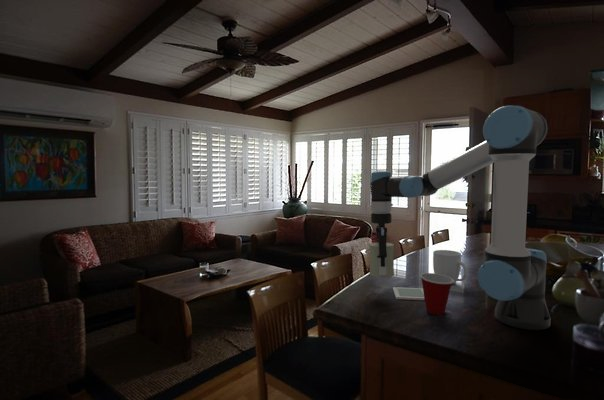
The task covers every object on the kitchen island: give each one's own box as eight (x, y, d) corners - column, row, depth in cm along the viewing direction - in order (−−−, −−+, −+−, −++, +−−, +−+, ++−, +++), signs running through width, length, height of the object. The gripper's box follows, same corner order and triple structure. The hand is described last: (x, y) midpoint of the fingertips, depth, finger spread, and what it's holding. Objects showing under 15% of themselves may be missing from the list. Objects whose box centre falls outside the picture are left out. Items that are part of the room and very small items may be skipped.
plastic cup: (455, 319, 117) (456, 282, 116) (419, 316, 120) (420, 279, 119) (451, 307, 128) (452, 273, 127) (419, 304, 131) (419, 271, 130)
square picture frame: (429, 300, 135) (429, 298, 135) (396, 299, 137) (396, 296, 136) (423, 290, 147) (423, 288, 147) (392, 289, 148) (392, 286, 148)
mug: (474, 286, 152) (475, 254, 151) (458, 290, 146) (459, 258, 145) (443, 277, 164) (443, 248, 163) (427, 281, 158) (427, 251, 157)
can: (388, 270, 146) (388, 240, 145) (398, 276, 136) (398, 244, 136) (366, 272, 144) (365, 241, 143) (374, 278, 135) (374, 245, 134)
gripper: (394, 215, 128) (394, 279, 129) (388, 210, 149) (389, 265, 150) (372, 215, 129) (373, 279, 130) (369, 210, 150) (370, 265, 151)
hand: (381, 271), depth 140 cm, fingers closed on can, 9 cm apart
